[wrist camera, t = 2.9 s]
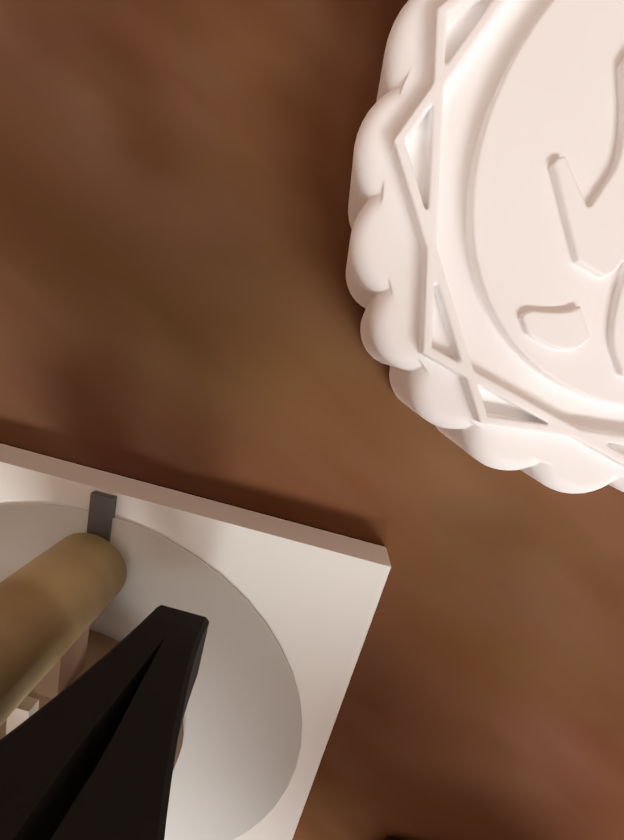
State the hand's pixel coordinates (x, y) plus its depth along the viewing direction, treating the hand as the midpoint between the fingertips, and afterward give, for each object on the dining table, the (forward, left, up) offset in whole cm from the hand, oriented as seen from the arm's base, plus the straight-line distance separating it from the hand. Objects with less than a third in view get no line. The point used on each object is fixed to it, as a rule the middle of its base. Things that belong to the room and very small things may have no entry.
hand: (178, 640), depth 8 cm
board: (+4, +7, -3) cm, 8 cm away
